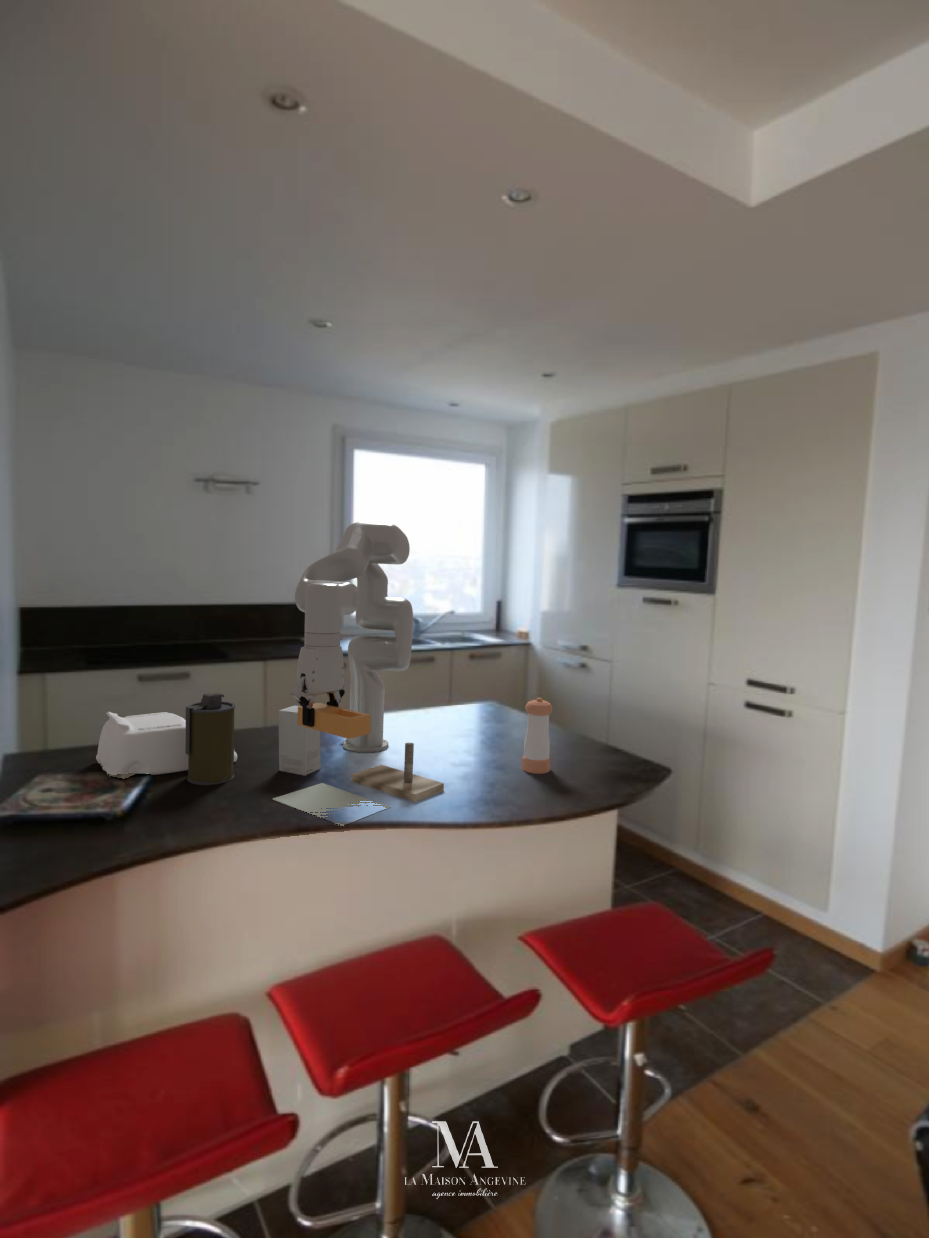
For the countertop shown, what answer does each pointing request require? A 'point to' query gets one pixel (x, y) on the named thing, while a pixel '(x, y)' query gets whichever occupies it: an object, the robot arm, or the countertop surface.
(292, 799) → the mat
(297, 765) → the skincare box
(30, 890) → the countertop surface
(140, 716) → the white toaster
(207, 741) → the canister
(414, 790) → the peg base
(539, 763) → the pepper shaker
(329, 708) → the link
